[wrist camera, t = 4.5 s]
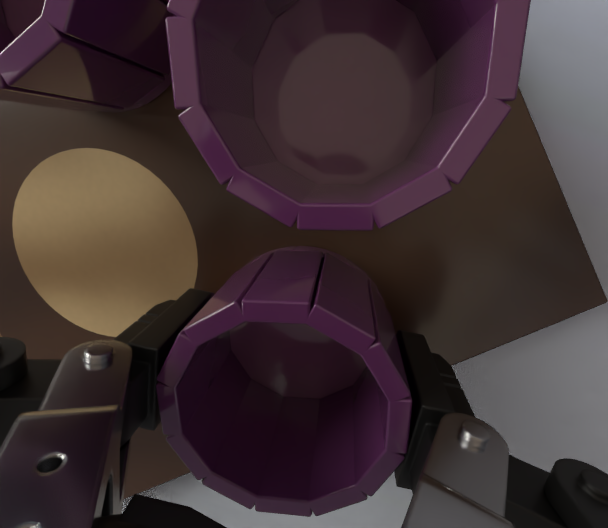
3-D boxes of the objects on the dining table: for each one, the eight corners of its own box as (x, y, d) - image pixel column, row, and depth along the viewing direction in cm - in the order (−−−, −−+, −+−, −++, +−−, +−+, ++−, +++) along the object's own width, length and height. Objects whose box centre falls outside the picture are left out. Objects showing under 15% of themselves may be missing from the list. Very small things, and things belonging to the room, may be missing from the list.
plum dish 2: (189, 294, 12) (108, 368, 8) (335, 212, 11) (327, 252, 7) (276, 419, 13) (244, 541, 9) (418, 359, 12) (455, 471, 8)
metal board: (-273, 205, 14) (-299, 208, 14) (301, -405, 8) (297, -452, 7) (33, 528, 18) (22, 541, 17) (596, 294, 11) (609, 302, 11)
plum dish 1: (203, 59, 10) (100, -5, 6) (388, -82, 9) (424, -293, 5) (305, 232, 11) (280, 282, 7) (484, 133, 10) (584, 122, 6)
